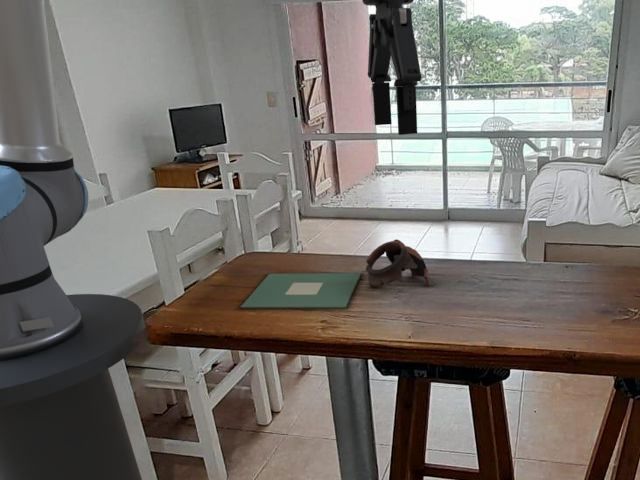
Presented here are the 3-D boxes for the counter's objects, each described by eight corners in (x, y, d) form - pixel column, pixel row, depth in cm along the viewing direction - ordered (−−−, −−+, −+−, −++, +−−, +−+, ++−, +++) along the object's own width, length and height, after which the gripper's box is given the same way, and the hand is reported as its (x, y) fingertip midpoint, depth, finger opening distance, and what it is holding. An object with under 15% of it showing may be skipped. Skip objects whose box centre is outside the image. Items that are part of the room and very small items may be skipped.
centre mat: (240, 308, 86) (240, 306, 86) (269, 275, 99) (269, 273, 99) (345, 308, 85) (345, 306, 85) (361, 274, 98) (360, 272, 97)
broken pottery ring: (439, 295, 90) (415, 258, 84) (386, 321, 91) (359, 286, 86) (427, 253, 99) (405, 217, 94) (379, 277, 101) (355, 243, 95)
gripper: (443, -40, 71) (445, 136, 80) (388, -18, 93) (394, 119, 102) (385, -41, 69) (394, 140, 78) (342, -18, 91) (353, 122, 100)
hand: (394, 129), depth 90 cm, fingers open, 13 cm apart
